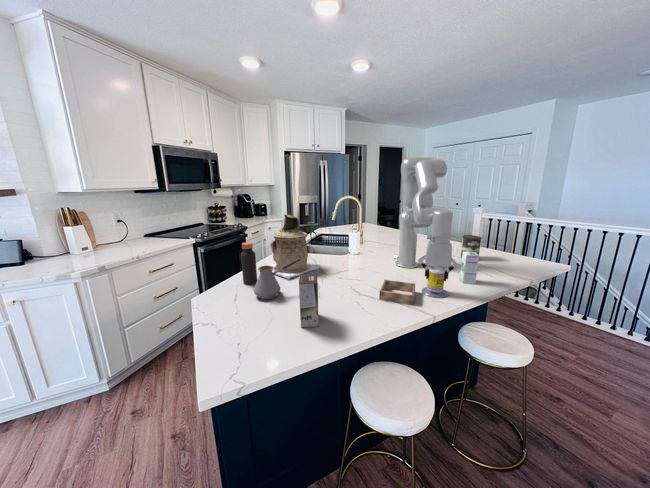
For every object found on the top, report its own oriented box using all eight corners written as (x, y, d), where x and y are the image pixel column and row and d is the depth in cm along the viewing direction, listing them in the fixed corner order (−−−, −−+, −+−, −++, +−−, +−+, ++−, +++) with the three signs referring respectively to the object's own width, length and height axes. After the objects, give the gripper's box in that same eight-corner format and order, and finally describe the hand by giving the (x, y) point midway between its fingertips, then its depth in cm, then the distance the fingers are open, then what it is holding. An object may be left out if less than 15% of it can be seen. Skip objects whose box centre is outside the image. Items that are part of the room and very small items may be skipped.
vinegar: (240, 282, 128) (236, 243, 123) (252, 278, 133) (249, 241, 128) (248, 286, 124) (244, 245, 119) (260, 282, 129) (257, 243, 124)
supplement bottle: (435, 294, 110) (438, 265, 107) (423, 288, 116) (426, 261, 112) (446, 291, 113) (449, 263, 110) (433, 285, 119) (436, 259, 115)
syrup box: (475, 284, 123) (480, 255, 120) (462, 283, 124) (466, 254, 121) (471, 279, 129) (475, 251, 125) (458, 279, 130) (462, 251, 126)
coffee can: (481, 261, 157) (484, 238, 153) (463, 260, 158) (465, 238, 155) (474, 256, 166) (477, 235, 163) (457, 255, 168) (460, 234, 165)
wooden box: (379, 299, 108) (379, 290, 107) (384, 287, 120) (385, 279, 119) (412, 305, 103) (413, 295, 102) (414, 291, 115) (415, 283, 114)
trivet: (416, 292, 115) (416, 291, 115) (429, 285, 122) (429, 284, 122) (440, 300, 107) (440, 299, 107) (452, 293, 114) (453, 292, 114)
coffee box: (319, 326, 89) (318, 283, 85) (300, 327, 89) (298, 284, 85) (317, 313, 98) (316, 273, 94) (300, 314, 97) (299, 274, 93)
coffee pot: (255, 303, 107) (252, 268, 103) (253, 292, 117) (250, 260, 113) (305, 295, 113) (304, 262, 110) (299, 285, 124) (297, 255, 120)
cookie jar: (321, 268, 147) (320, 212, 139) (287, 281, 130) (284, 218, 122) (293, 260, 163) (291, 209, 156) (260, 270, 146) (255, 213, 138)
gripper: (417, 239, 109) (414, 279, 113) (464, 243, 102) (458, 285, 107) (418, 236, 115) (415, 273, 120) (462, 239, 109) (457, 278, 113)
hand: (436, 278), depth 113 cm, fingers closed on supplement bottle, 6 cm apart
